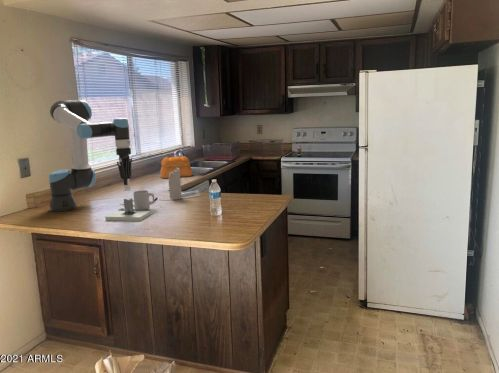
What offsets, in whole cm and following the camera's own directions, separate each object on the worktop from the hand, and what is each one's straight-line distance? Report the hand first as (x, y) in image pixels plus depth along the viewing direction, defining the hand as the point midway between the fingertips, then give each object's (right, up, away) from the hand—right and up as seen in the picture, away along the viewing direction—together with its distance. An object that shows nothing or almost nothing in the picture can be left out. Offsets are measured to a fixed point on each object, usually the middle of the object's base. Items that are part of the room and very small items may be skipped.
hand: (127, 190), depth 231 cm
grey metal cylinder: (0, -15, +3) cm, 15 cm away
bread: (+4, +10, +131) cm, 131 cm away
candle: (+16, -6, +44) cm, 47 cm away
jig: (0, -15, +3) cm, 15 cm away
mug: (+5, -12, +18) cm, 22 cm away
